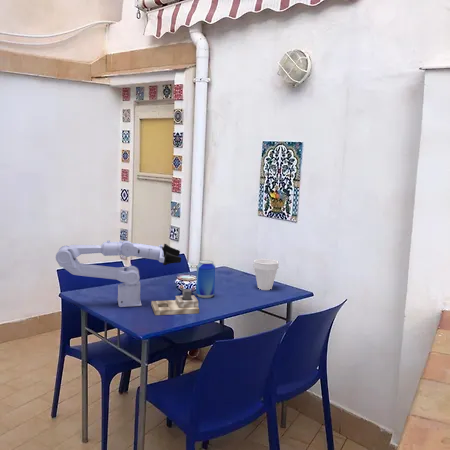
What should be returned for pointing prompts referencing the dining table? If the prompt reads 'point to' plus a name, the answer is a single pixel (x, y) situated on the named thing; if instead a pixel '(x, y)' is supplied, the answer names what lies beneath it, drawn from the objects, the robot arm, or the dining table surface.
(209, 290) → the beer can
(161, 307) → the beige stepped block
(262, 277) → the cup
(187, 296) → the plug
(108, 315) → the dining table surface
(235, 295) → the dining table surface
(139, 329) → the dining table surface
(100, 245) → the robot arm
